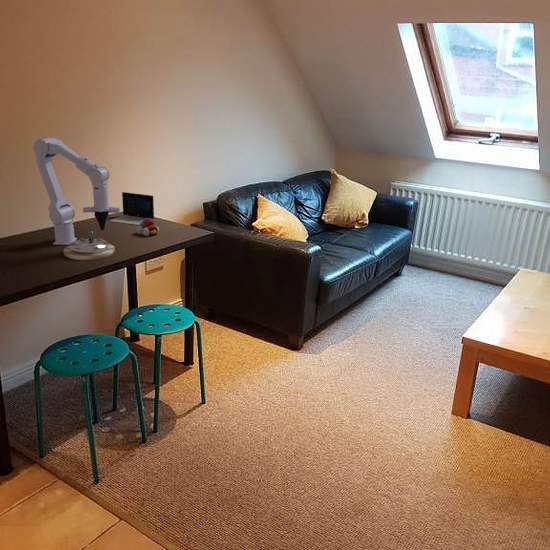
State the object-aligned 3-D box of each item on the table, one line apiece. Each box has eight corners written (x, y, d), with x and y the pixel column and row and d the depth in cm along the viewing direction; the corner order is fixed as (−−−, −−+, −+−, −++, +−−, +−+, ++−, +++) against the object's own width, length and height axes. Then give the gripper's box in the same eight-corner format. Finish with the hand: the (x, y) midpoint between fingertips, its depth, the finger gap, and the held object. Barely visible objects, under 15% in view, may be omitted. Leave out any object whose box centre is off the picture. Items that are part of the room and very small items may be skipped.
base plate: (69, 245, 234) (69, 241, 233) (118, 245, 236) (117, 241, 236) (58, 260, 215) (58, 256, 214) (110, 260, 218) (110, 256, 217)
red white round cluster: (147, 238, 249) (147, 222, 246) (133, 233, 254) (133, 218, 252) (161, 234, 255) (161, 219, 253) (148, 230, 261) (147, 215, 258)
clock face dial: (66, 254, 217) (65, 241, 215) (73, 243, 231) (72, 230, 229) (106, 254, 219) (105, 240, 217) (110, 243, 233) (109, 230, 231)
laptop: (109, 222, 272) (107, 196, 268) (123, 216, 284) (122, 191, 279) (141, 226, 267) (140, 200, 263) (154, 220, 279) (153, 195, 274)
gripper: (80, 199, 220) (82, 231, 224) (117, 199, 222) (119, 232, 226) (83, 195, 226) (86, 227, 231) (119, 196, 228) (121, 227, 233)
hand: (102, 229), depth 229 cm, fingers closed
